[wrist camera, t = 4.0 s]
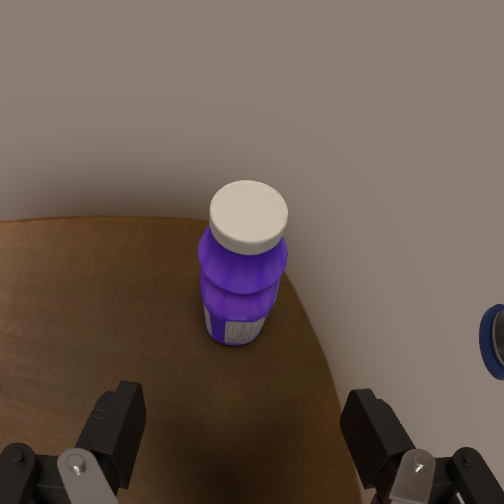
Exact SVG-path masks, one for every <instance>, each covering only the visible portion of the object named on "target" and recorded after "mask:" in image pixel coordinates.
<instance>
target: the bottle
mask: <svg viewBox="0 0 504 504" xmlns="http://www.w3.org/2000/svg"><path fill="white" fill-rule="evenodd" d="M287 219H288V209H287V206H286V203H285V201H284V199H283V198H282V196H281V195H280V194H279V193H278V192H277V191H276V190H275V189H273V188H272V187H270V186H268V185H266V184H263V183H260V182H257V181H247V180H244V181H237V182H233V183H230V184H228V185H226V186H224V187H223V188H221V189H220V190H219V191H218V192H217V193H216V194H215V196H214V197H213V199H212V201H211V205H210V220H209V222H210V225H209V226H208V228H207V229H206V230H205V232H204V233H203V235H202V237H201V240H200V242H199V246H198V256H199V261H200V264H201V274H200V289H201V296H202V300H203V304H204V312H205V324H206V328H207V331H208V333H209V334H210V336H211V337H212V338H213V339H214V340H216V341H218V342H220V343H224V344H226V345H242V344H247V343H250V342H251V341H253V340H254V339H255V338H256V337H257V336H258V334H259V332H260V330H261V327H262V325H263V323H264V321H265V319H266V317H267V315H268V313H269V311H270V309H271V308H272V306H273V304H274V302H275V299H276V295H277V291H278V285H279V278H280V277H281V275H282V273H283V271H284V269H285V266H286V262H287V256H288V253H287V246H286V243H285V241H284V238H283V233H284V229H285V226H286V223H287Z"/></svg>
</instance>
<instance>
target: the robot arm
mask: <svg viewBox="0 0 504 504" xmlns="http://www.w3.org/2000/svg"><path fill="white" fill-rule="evenodd" d="M490 342H491V348H492V351H493V354H494V357H495V359H496V361H497V362H498V364H499V365H500V366H501V367H502V368H503V369H504V309H503V310H501V311H500V312H498V313H496V314H495V316H494V317H493V319H492V322H491V327H490ZM145 424H146V408H145V403H144V397H143V391H142V386H141V384H140V383H134V382H128V381H120V383H119V385H118V387H117V389H116V391H115V392H111V391H107V392H106V393H104V394H103V395H102V396H101V397H100V398H98V400H97V402H96V404H95V406H94V410H92V412H91V414H90V418H88V420H87V422H86V424H85V427H84V429H83V431H82V433H81V435H80V437H79V439H78V441H77V443H76V445H75V447H74V448H70V449H67V450H65V451H63V452H62V453H61V454H60V455H59V456H49V455H37V454H35V453H34V452H33V450H32V449H31V448H30V447H29V446H28V445H26V444H23V443H12V444H10V445H8V446H6V447H5V448H4V450H3V451H2V453H1V455H0V504H120V503H119V501H118V499H117V498H116V495H117V491H118V488H122V489H127V490H128V487H129V483H130V479H131V475H132V471H133V467H134V464H135V460H136V456H137V452H138V449H139V445H140V442H141V438H142V435H143V431H144V428H145ZM340 428H341V431H342V434H343V436H344V439H345V441H346V444H347V446H348V449H349V451H350V454H351V456H352V459H353V461H354V464H355V466H356V469H357V471H358V474H359V476H360V479H361V482H362V484H363V487H364V489H365V490H366V489H370V488H374V487H375V489H376V491H377V492H376V494H375V495H374V497H373V499H372V502H371V504H461V503H460V501H459V499H458V497H457V495H456V494H457V493H458V492H459V493H460V495H461V497H462V499H463V501H464V503H465V504H504V491H503V490H502V488H501V487H500V485H499V483H498V481H497V480H496V478H495V477H494V475H493V473H492V472H491V470H490V469H489V467H488V466H487V464H486V462H485V461H484V459H483V458H482V456H481V455H480V453H479V452H478V451H476V450H475V449H473V448H470V447H463V448H460V449H459V450H457V451H456V452H455V454H454V455H453V456H452V457H445V458H434V457H433V456H432V455H431V454H430V453H429V452H427V451H425V450H422V449H416V448H415V446H414V444H413V442H412V441H411V439H410V438H409V436H408V434H407V433H406V431H405V429H404V428H403V426H402V424H400V421H399V420H398V418H397V417H396V416H395V413H394V412H393V410H392V408H391V407H390V406H389V405H388V404H387V403H386V402H384V401H383V400H382V399H376V397H375V395H374V394H373V392H372V390H370V389H369V388H367V389H358V390H351V391H350V393H349V395H348V398H347V401H346V404H345V406H344V409H343V412H342V414H341V418H340Z"/></svg>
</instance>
